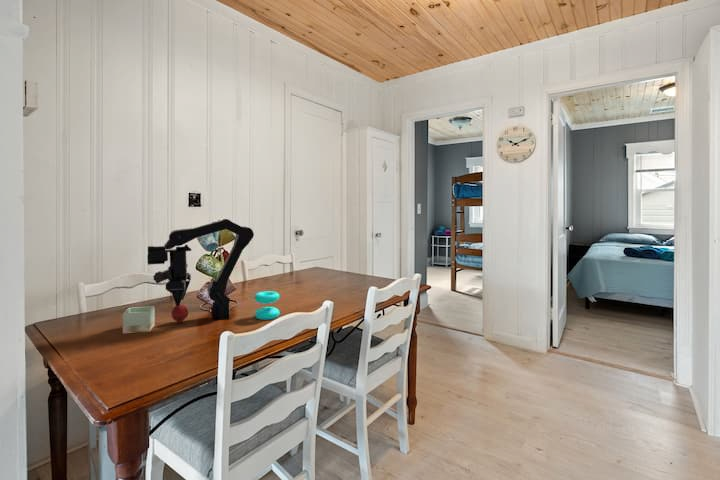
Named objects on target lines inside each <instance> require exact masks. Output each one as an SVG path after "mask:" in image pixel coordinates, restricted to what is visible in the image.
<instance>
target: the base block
mask: <svg viewBox="0 0 720 480" xmlns="http://www.w3.org/2000/svg"><path fill="white" fill-rule="evenodd" d="M155 325H156V317H155V318H154V319H153V321H152V322H151V324H147V325H134V326H123V325H122V334H131V333H135V334H136V333H147V332H151V331H152V329H153V328H154V326H155Z"/></svg>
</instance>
